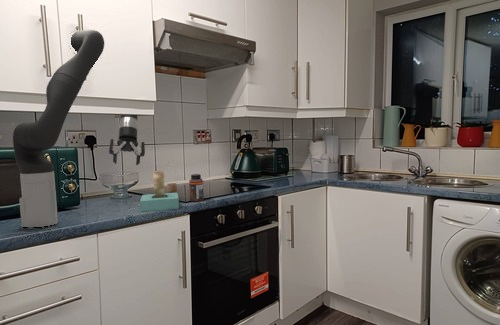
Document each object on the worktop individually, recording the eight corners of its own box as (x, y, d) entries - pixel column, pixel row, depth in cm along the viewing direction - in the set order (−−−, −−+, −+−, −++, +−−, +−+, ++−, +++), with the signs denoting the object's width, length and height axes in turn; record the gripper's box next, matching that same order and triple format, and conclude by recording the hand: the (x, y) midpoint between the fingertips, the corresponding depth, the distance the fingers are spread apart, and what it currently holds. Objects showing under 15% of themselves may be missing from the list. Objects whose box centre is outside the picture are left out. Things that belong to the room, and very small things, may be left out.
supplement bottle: (187, 200, 143) (185, 174, 142) (198, 198, 147) (197, 173, 146) (195, 202, 139) (194, 175, 138) (206, 200, 143) (205, 174, 142)
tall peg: (154, 207, 130) (152, 172, 129) (155, 205, 134) (153, 171, 133) (165, 207, 131) (163, 171, 130) (165, 205, 135) (163, 170, 134)
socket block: (140, 211, 124) (140, 201, 124) (143, 204, 138) (142, 194, 137) (179, 208, 127) (178, 198, 127) (177, 201, 141) (177, 192, 141)
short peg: (168, 200, 144) (167, 184, 143) (167, 199, 148) (167, 183, 147) (177, 200, 145) (176, 184, 144) (177, 198, 149) (176, 183, 148)
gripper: (111, 123, 140) (108, 159, 134) (146, 127, 146) (145, 161, 140) (110, 131, 147) (108, 166, 141) (144, 134, 152) (143, 168, 146)
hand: (126, 163), depth 140 cm, fingers open, 8 cm apart
